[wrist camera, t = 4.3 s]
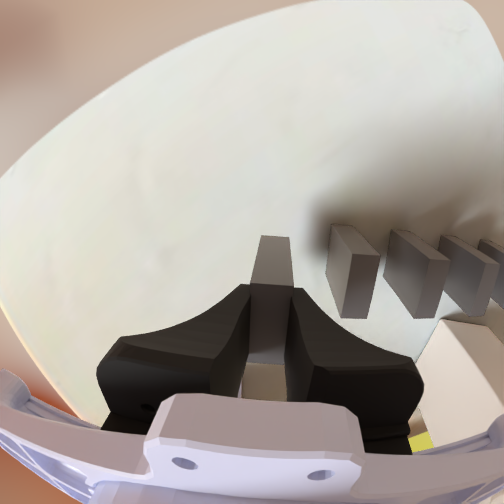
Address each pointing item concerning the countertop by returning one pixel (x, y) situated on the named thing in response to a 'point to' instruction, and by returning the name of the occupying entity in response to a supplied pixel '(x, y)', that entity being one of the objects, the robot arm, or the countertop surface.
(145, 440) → the robot arm
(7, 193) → the countertop surface
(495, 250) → the domino end
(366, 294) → the domino
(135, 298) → the countertop surface
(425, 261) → the domino
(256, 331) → the domino
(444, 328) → the milk carton
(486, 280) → the domino
